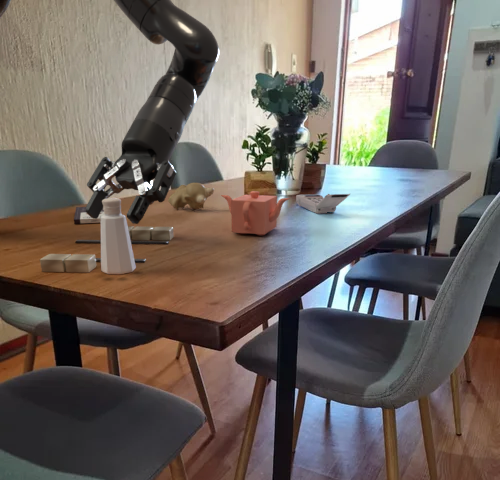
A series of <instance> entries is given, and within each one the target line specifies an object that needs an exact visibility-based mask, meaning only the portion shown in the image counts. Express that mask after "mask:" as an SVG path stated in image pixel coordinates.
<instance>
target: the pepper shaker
mask: <svg viewBox="0 0 500 480" xmlns="http://www.w3.org/2000/svg"><path fill="white" fill-rule="evenodd" d="M102 204H103V210H104V215H103V216H102V217H101V222H100V240H101V243H100V258H101V262H100V271H101V272H102V273H104V274H107V275H123V274H124V275H125V274H128V273H132V272H134V271H135V269H136V268H137V265H136V263H135V260H134V259H135V255H134V250H133V247H132V245H133V244H131V241H132V239H131V240H130V235H129V230H128V226H129V225H128V221H127V215H124V214H122V199H120V198H118V197H109V198H107V199H104V200H102Z"/></svg>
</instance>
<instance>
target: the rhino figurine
mask: <svg viewBox="0 0 500 480" xmlns="http://www.w3.org/2000/svg"><path fill="white" fill-rule="evenodd" d="M214 192H215V188H214V187H205V186H204V184H202V183H200V182H190V183H188V184H187V185H185V184H181V185H179V187H178V188H176V189H175V191H174V193H172V194H170V196H169V198H168V199H167V202H168V203H169V204H170V206H172V207H173V208H174V209H175V210H176V211H178V210H179V209H181V208H185V207H186V206H187V205H188V207H189V208H190V209H192V210H199V209H204V206H205V203H206V201H207V199H208V198H209V197H210V196H212V195H213V194H214Z"/></svg>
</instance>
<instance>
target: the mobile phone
mask: <svg viewBox="0 0 500 480" xmlns="http://www.w3.org/2000/svg"><path fill="white" fill-rule="evenodd" d="M349 196H351V193H335V194H333V193H331V194H330V193H327V194H326V195H324V196H323V195H321V194H314V193H313V194H296V196H295V202H296V203H297V204H298V207H301V208H303V209H306V210H308V211H310V212H312V213H314V214H317V215H318V214H321V215H322V214H328V213H327V212H334V213H335V212H336V209H337V206H339V205H340V204H341V203H343V202H344V201H345V200H346V199H347V198H348V197H349Z"/></svg>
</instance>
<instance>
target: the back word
mask: <svg viewBox="0 0 500 480" xmlns="http://www.w3.org/2000/svg"><path fill="white" fill-rule="evenodd" d="M128 230H129V235H130V240H131V245H169V244H170V242H169V241H171V240H172V239H173V238H175V237H174V236H175V235H174V227H173V226H155V227H154V226H140V225H139V226H138V225H137V226H134V225H130V226H129V225H128ZM75 244H101V239H76V240H75Z"/></svg>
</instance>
